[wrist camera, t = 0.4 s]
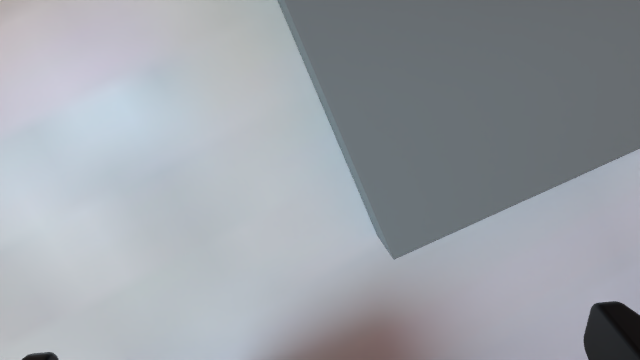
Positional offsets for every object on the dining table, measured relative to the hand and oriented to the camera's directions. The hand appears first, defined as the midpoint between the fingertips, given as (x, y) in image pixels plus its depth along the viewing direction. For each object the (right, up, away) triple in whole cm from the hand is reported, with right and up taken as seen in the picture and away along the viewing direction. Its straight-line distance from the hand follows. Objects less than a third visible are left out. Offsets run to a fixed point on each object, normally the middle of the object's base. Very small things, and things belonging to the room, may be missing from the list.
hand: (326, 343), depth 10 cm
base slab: (+6, +10, +12) cm, 16 cm away
